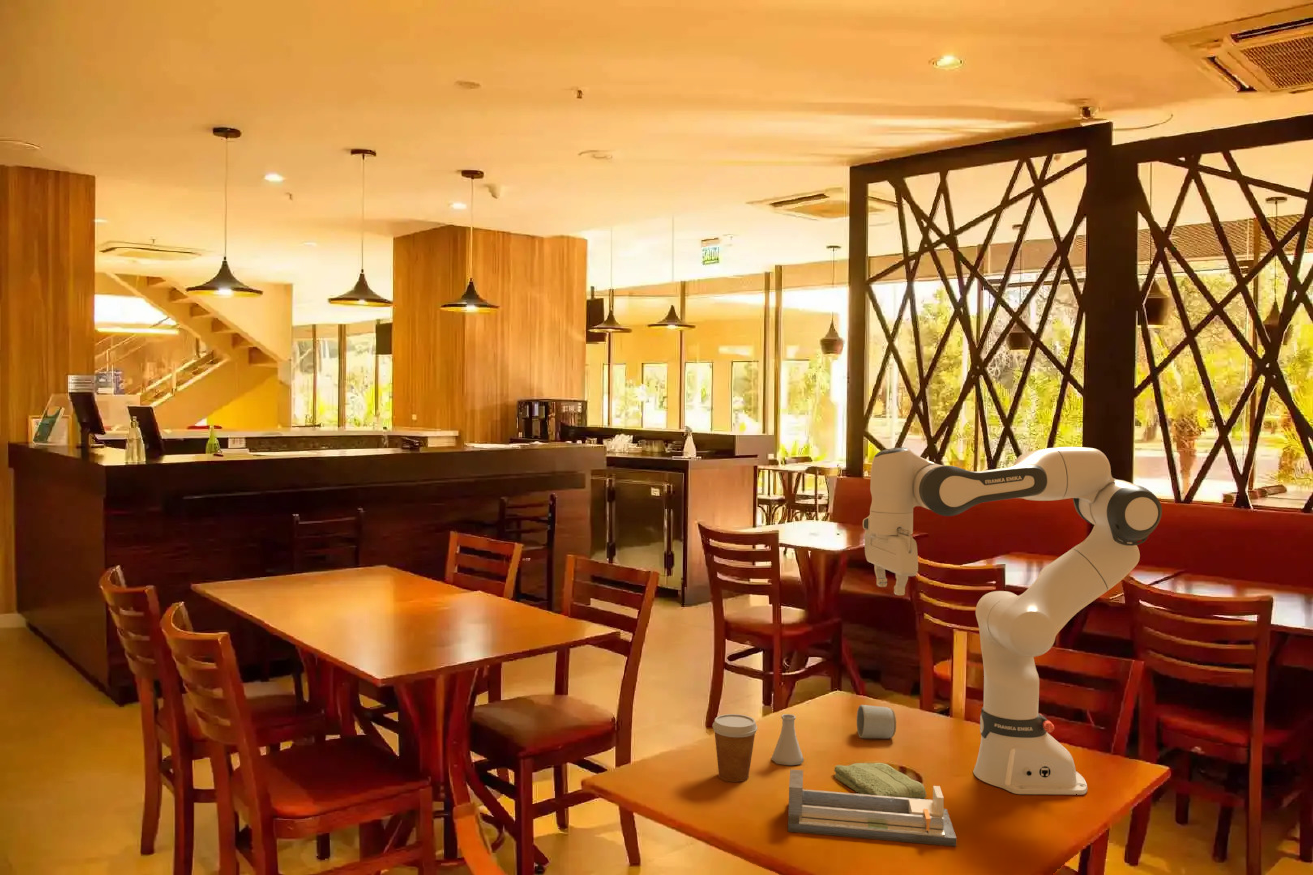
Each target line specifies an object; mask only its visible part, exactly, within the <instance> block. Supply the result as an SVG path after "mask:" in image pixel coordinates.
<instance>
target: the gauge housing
mask: <svg viewBox="0 0 1313 875" xmlns="http://www.w3.org/2000/svg"><path fill="white" fill-rule="evenodd" d="M803 783H804V770H803V769H789V785H788V819H787V820H788V821H787V832H791V833H801V834H802V833H804V834H811V835H812V834H813V835H822V834H823V835H825V836H834V837H846V838H854V839H855V838H856V839H866V840H867V839H870V840H879V841H888V842H889V841H892V842H902V843H913V844H923V845H933V846H944V847H945V846H946V847H955V848H956V847H957V836H956V833H955V829H954V827H953V823H952V821H951V818H950V814H949V812H948V809H947V808H943V817H937V816H930V818H931V822H930V827H929V831H926V819H925V816H924V815H914V814H909V812H908V808H909V799H914V798H902V797H890V796H878V795H866V794H860V793H852V792H841V791H839V792H838V791H828V790H817V789H815V790H814V789H806V788H805V789H804V788H803V787H804V784H803ZM916 800H928V801H933V799H925V798H924V799H916ZM823 835H822V836H823Z"/></svg>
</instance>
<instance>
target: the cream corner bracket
mask: <svg viewBox="0 0 1313 875" xmlns="http://www.w3.org/2000/svg"><path fill="white" fill-rule="evenodd" d="M932 786H933V787H932V800H933V801H928V800H929V799H926V800H916V799H909V808H908V812H909V814H914V815H924V816H925V819H926V831H929V827H930V822H931V818H930V816H937V817H943V809H944V803H945V802H944V800H945V798H944V795H943V792H942V789H941V786H940V785H932Z"/></svg>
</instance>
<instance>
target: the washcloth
mask: <svg viewBox="0 0 1313 875" xmlns="http://www.w3.org/2000/svg"><path fill="white" fill-rule="evenodd" d="M833 772H835V774H834V778H835V779H836V780H838V781H839V782H841V783H842V784H844V785H845V786H847V787H848V788H850V789H851V790H853V791H855V792H856V793H857V792H858V793H857V794H866V795H878V796H890V797H902V798H914V799H925V798H927V792H926V791H927V790H926V788H925V786H924V784H923V783H921V782H919V781H917V780H915V779H913V778H910V777H909V776H908V775H907V774H904V773H903V772H900V771H898V770H897V769H896V768H893V766H891V765H889V764H887V763H883V762H874V763H871V762H867V763H865V762H864V763H861V762H860V763H853V764H850V765H842V764H838V765H835V766H834V771H833Z"/></svg>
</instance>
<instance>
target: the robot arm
mask: <svg viewBox="0 0 1313 875" xmlns="http://www.w3.org/2000/svg"><path fill="white" fill-rule="evenodd" d="M1111 471H1112V469H1111V464H1110V461H1109V459H1108V458H1107V456H1106V454H1105V453H1104V452H1102V451H1101V450H1100V449H1097V448H1093V447H1085V446H1083V447H1082V446H1057V447H1047V448H1040V449H1035V450H1032V451H1027V452H1026V453H1022V454H1020V455H1019V456H1018V457H1017V458H1016V460H1015V461H1014V462H1013V465H1012V466H1009V467H1003V468H994V469H988V470H987V469H985V470H979V471H972V470H971V471H970V470H966V469H964V468H961V467H959V466H955V465H942V464H939V463H935V462H933V461H930V460H929V459H926V458H923V457H922V456H920V455H918V454H917V453H915V452H913V451H912V450H911V449H910V448H908V447H904V446H903V447H892V448H887V449H883V450H880V451H878V452H877V453H876V454H875V455H874V456H873V460H872V464H871V469H870V482H869V483H870V486H869V489H870V494H871V503H870V507H869V515H868V516H867V517H865V518H863V520H862V528H863V530H865V531H864V538H863V539H864V555H865V559H866V561H867V563H869V564H870V563H871V564H873V566H874V574H875V577H876V586H877V587H880V588H886V587H887V585H888V578H887V576H886V570H887V571H889V572H891V573H894V574H895V579H896V581H895V585H894V586H893V594H894V595H896V596H904V595H905V594H906V585H907V583H908V580H909V577H916V576H917V574H918V572H919V556H918V544H917V541H916V539H914V538H913V536H912V535H913V533H914V508H915V507H922V508H924V509H927V510H929V511H930V510H931V511H932V513H935V514H936V515H939V516H942V517H953V516H957V515H960V514H962V513H964V512H965V511H968V510H969V509H970V508H972V507H974V506H977V505H979V504H983V503H987V502H989V503H990V502H996V501H1003V500H1013V499H1024V500H1026V501H1027V500H1028V501H1037V502H1038V501H1039V502H1040V501H1041V502H1042V501H1043V502H1046V501H1060V500H1061V501H1062V500H1067V499H1068V500H1069V499H1072V502H1073V507H1074V508H1075V512H1076V513H1077V514H1078V516H1080V518H1082V519H1083V520H1084V521H1085V522H1087V523H1088V524H1091V525H1093V528H1092V530H1091V532H1090V533H1089V535H1088V536H1087V537H1086V538H1085V539H1084V540H1083V541H1082V542H1079V544H1076V545H1075V546H1073V547H1072V548H1071V549H1069V550H1067V552H1065V553H1064V554H1062V555H1060V556H1059V557H1057V558H1056V559H1054V560H1053V561H1052V562H1050V563H1049V564H1047V565H1046V566H1045V567H1043V568H1042V569H1041V570H1040V571H1039V573H1038V577H1037V578H1036V579H1035V581H1033V583H1032V584H1031V585H1030V586H1029V587H1028V588H1027V589H1026V590H1025V591H1024V592H1023V593H1021V594H1019V595H1017V594H1015V593H1014V592H1011V591H1007V590H1006V591H1004V590H995V591H991V592H988V593H985V594H984V595H982V597H981V598H980V599H979V600H978V602H977V603H976V607H975V617H976V621H977V624H978V630H979V631H978V632H979V633H978V634H979V640H980V641H979V642H980V650H981V651H980V652H981V655H982V656H981V658H982V664H983V676H984V677H983V706H982V707H981V711H980V717H979V731H980V732H979V733H980V735H981V738H980V745H979V749H978V755H977V759H976V763H975V765H974V767H973V768H974V769H973V775H974V776H975V777H976V778H977V779H979V781H982V782H984V783H986V784H988V785H991V786H995V787H998V788H1001V789H1003V790H1006V791H1008V792H1010V793H1012V794H1015V795H1016V794H1017V795H1076V794H1077V795H1085V794H1086V793H1087V792H1088V784H1087V782H1086V780H1085V777H1083V776H1082V774H1080V773H1079V772H1078V771H1076V765H1075V762H1074V758H1073V756H1072V754H1071V753H1070V751H1069V750H1068V749H1067V748H1066V747H1065V746H1063V744H1061V743H1060V742H1059V741H1058V740H1056V738H1054V737H1053V736H1052V735H1051V734H1050V733H1053V731H1055V725H1054V724H1053V723H1052V722H1051V721H1050V720H1049V719H1047V717H1045V716H1044V715H1042V713H1039V703H1040V702H1039V701H1040V700H1039V698H1040V677H1039V673H1038V671H1037V667H1036V664H1035V663H1036V662H1035V657H1039V656H1043V655H1044V654H1046V653H1047V652H1048V651H1049V650H1051V649H1052V647H1053V646H1054V643H1055V641H1056V636H1057V635H1058V634H1059V632H1060V631H1061V630H1062V629H1063V628H1064V627H1065V626H1066V625H1067V624H1068V622H1069V621H1070V620H1071V619H1073V617H1074V616H1076V615H1077V613H1079V612H1080V611H1081V610H1083V609H1084V608H1085V607H1087V606H1088V605H1089V604H1091V603H1092V602H1094V601H1095V600H1096V599H1097V600H1098V598H1099V597H1101V596H1103V595H1104V594H1105V593H1107V592H1108V591H1109V590H1111V589H1112V588H1113V587H1115V586H1116V585H1118V584H1119V583H1120V582H1121V581H1122V580H1123V579H1124V578H1126V577H1127V575H1129V574H1130V573H1131V572H1132V571H1133V570H1134V569H1135V567H1137V565H1138V563H1139V562H1140V557H1141V554H1140V550H1139V547H1138V545H1140V544H1141V545H1142V544H1143V543H1145V542H1146V541H1147V539H1148V538H1149V535H1151V534H1152V533H1153V532H1154V531H1155V530H1156V528H1157V526H1158V525H1159V523H1160V521H1161V519H1162V515H1163V514H1162V513H1163V507H1162V504H1161V501H1160V500H1159V498H1158V497H1157V496H1156V495H1155V494H1154V493H1153V492H1152V491H1151V490H1149V489H1147V488H1146V487H1144V486H1141V485H1137V484H1134V483H1133V482H1129V481H1126V480H1124V479H1116V478H1114V477H1113V475H1112V472H1111ZM1077 795H1076V796H1077Z"/></svg>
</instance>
